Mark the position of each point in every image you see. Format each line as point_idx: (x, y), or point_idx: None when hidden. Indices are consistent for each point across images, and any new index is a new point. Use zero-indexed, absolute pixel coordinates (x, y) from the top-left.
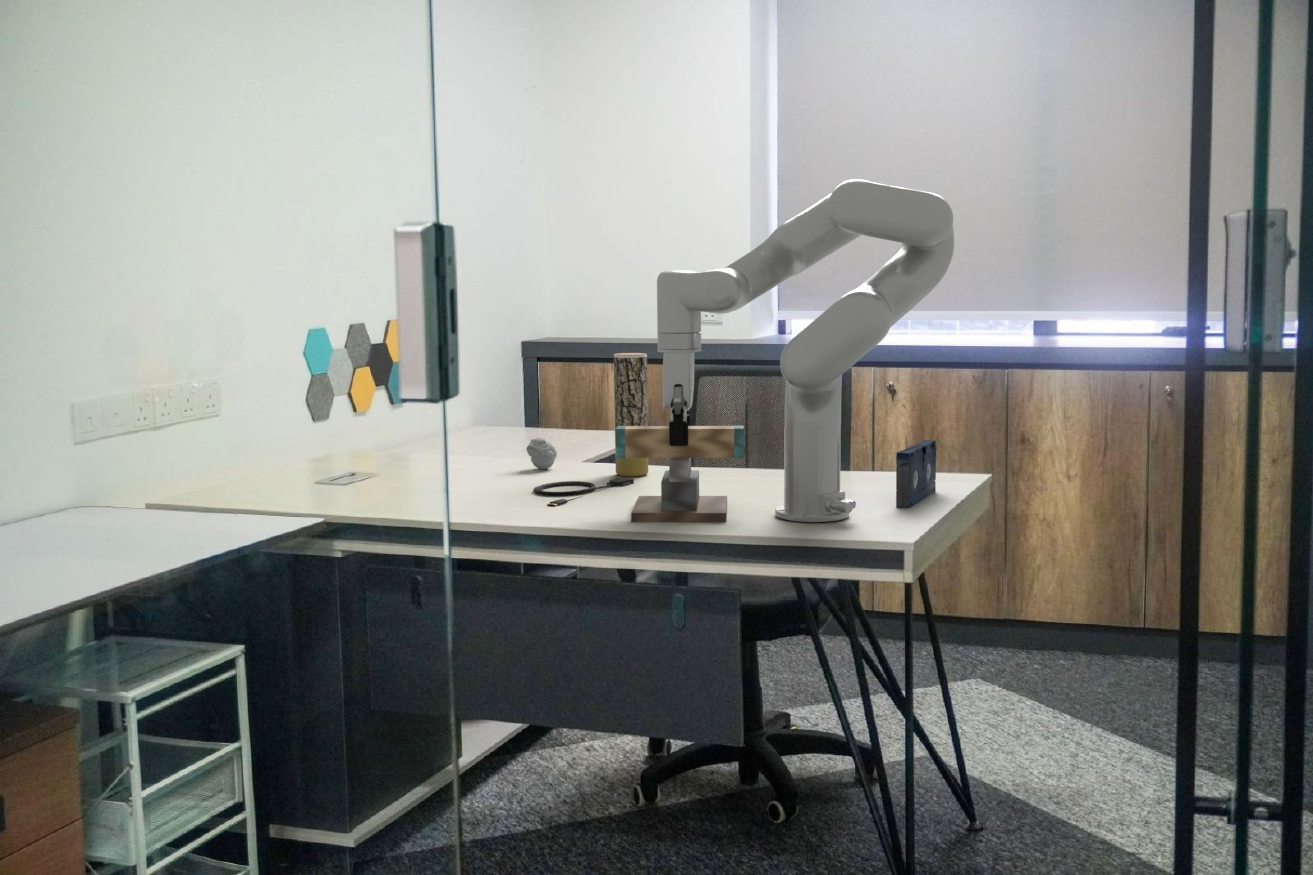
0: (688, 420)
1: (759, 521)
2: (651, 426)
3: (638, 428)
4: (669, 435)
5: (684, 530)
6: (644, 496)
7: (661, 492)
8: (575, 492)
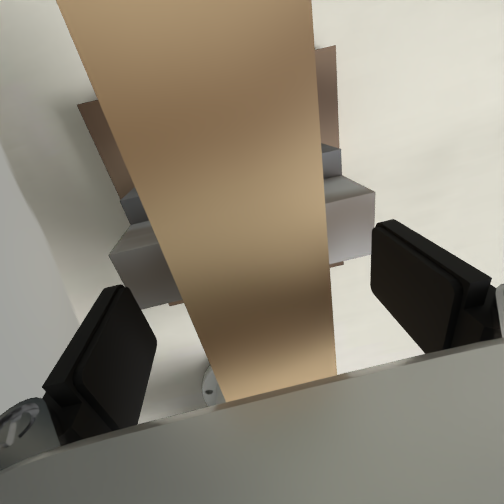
0: (423, 344)
1: (196, 335)
2: (295, 146)
3: (128, 54)
4: (87, 318)
5: (62, 251)
6: (326, 68)
7: (129, 192)
8: None
